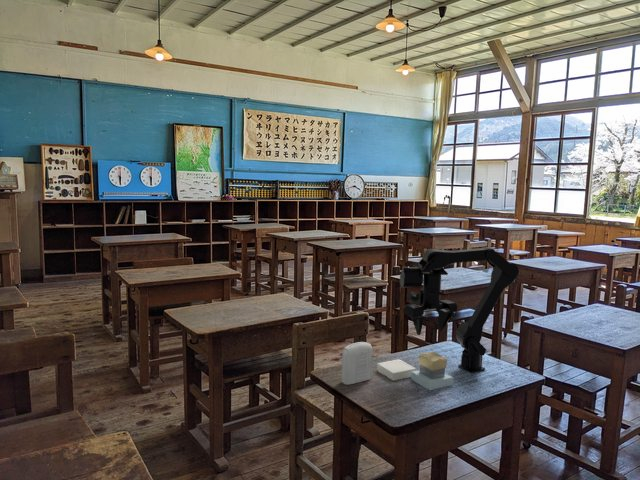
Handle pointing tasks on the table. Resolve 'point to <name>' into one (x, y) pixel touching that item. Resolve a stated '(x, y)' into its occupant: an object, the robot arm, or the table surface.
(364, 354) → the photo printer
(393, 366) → the stand
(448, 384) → the stand
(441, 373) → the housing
